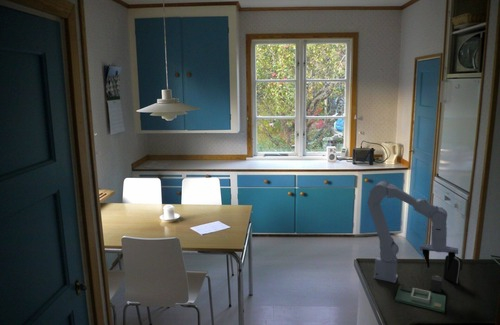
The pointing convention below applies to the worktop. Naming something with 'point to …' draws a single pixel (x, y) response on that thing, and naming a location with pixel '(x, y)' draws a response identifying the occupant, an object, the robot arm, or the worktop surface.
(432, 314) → the worktop surface
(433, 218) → the robot arm
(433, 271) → the worktop surface
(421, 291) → the board
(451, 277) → the battery charger
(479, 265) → the worktop surface
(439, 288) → the plug
